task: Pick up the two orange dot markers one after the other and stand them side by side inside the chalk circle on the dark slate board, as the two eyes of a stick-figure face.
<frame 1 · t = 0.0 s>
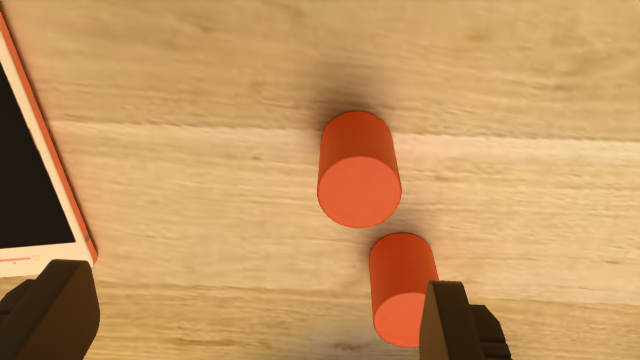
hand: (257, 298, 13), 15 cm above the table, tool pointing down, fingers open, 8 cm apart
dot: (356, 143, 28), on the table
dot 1: (400, 258, 31), on the table
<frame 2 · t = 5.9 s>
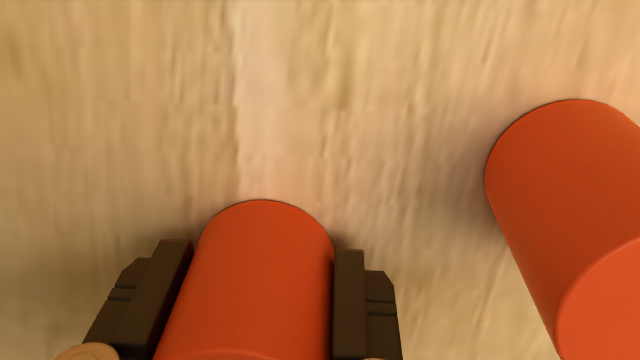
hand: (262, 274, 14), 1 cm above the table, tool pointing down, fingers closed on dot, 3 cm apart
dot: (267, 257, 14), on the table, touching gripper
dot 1: (561, 170, 13), on the table
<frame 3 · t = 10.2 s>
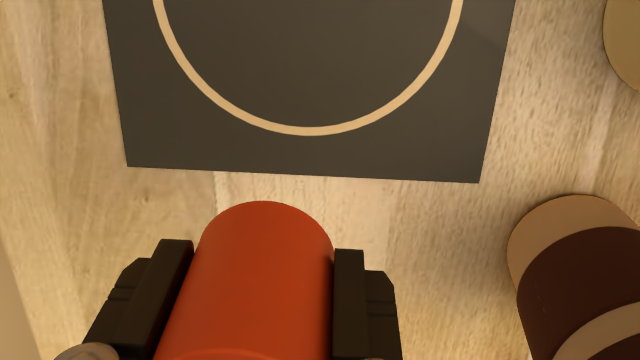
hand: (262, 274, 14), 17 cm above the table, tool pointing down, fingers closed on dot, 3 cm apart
coffee cup: (564, 241, 33), on the table
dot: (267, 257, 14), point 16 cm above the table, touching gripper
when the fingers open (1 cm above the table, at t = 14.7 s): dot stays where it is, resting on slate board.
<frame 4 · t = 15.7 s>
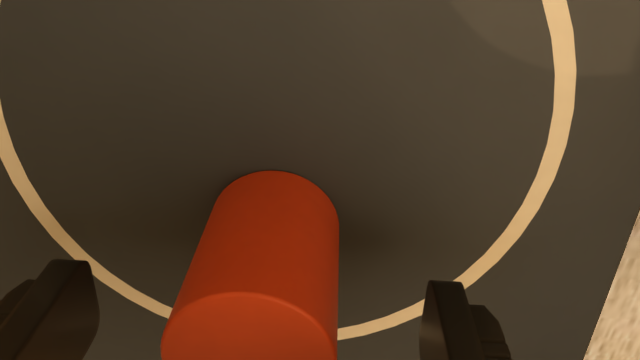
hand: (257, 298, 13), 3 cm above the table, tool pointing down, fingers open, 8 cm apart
slate board: (275, 122, 14), on the table
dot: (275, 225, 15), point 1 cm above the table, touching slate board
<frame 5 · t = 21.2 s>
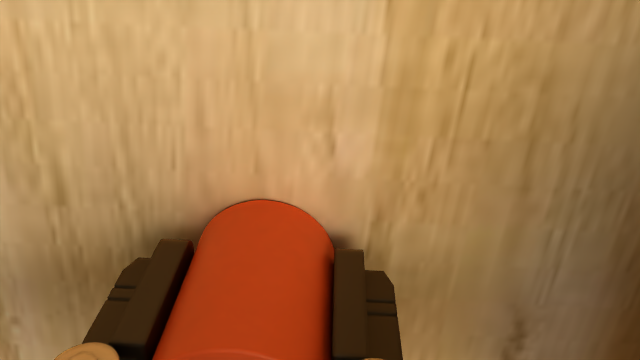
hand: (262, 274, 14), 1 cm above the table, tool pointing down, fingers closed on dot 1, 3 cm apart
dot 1: (267, 257, 14), on the table, touching gripper
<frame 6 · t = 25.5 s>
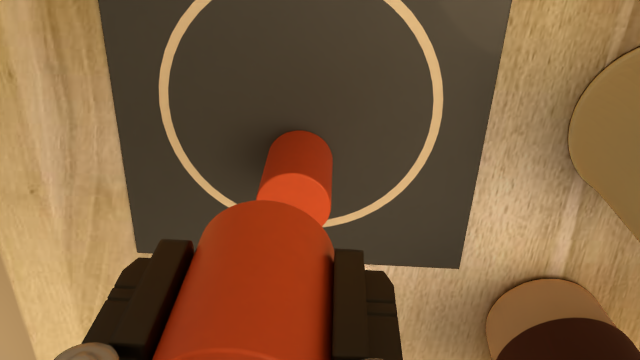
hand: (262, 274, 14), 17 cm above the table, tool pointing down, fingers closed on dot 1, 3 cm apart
coffee cup: (538, 316, 36), on the table
slate board: (300, 106, 29), on the table
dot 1: (267, 257, 14), point 16 cm above the table, touching gripper
when the fingers open (1 cm above the table, at t = 30.0 s): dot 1 stays where it is, resting on slate board.
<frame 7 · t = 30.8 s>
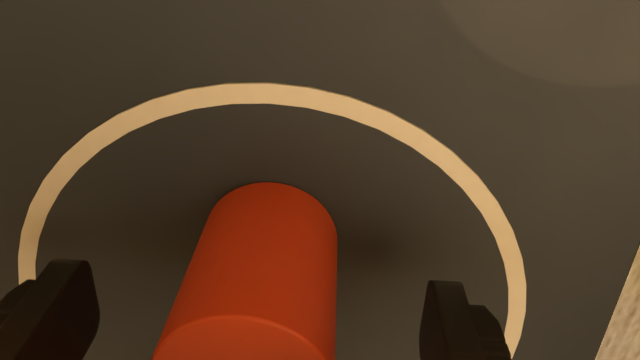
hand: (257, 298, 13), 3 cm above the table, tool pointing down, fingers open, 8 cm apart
slate board: (272, 311, 17), on the table
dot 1: (271, 238, 15), point 1 cm above the table, touching slate board
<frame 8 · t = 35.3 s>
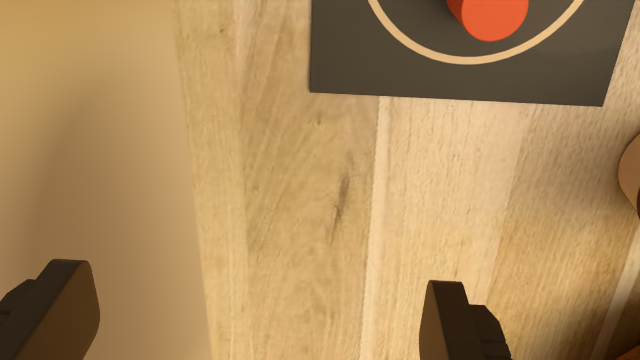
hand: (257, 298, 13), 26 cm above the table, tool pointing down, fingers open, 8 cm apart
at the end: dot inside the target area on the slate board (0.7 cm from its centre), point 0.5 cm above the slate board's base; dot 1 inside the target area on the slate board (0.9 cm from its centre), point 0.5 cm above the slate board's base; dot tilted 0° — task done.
